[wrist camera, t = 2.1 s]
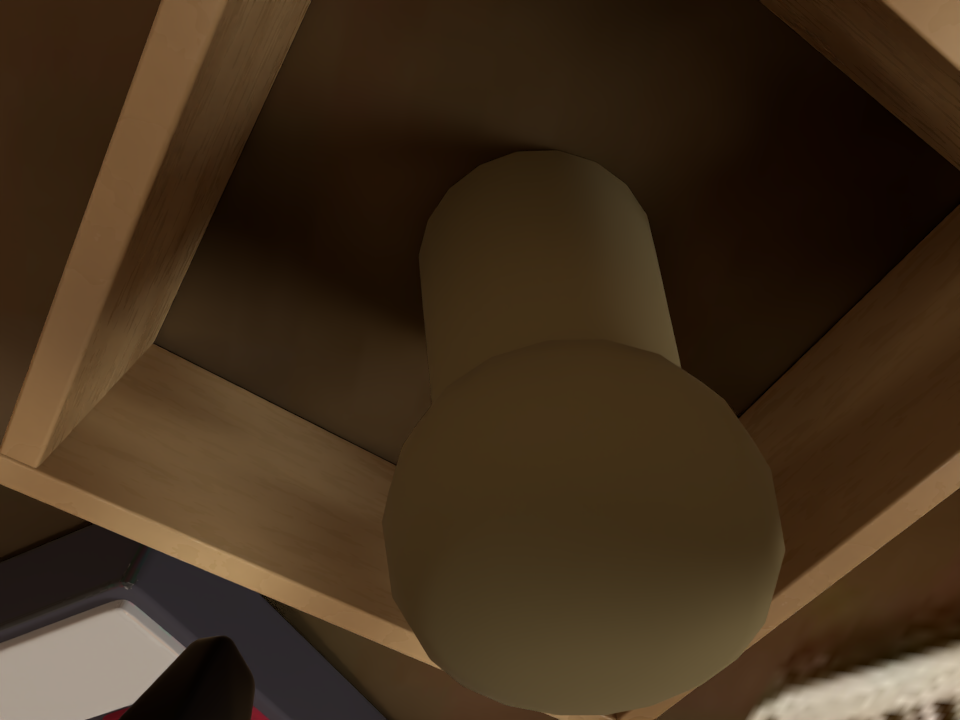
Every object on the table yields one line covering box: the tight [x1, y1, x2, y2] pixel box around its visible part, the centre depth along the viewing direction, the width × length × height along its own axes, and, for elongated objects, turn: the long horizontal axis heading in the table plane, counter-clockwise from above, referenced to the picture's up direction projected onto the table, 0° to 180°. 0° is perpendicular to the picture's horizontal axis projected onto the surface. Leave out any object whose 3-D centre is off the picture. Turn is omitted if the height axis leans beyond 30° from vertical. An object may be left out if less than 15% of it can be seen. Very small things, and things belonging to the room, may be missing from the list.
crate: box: [0, 0, 960, 720], centre depth 15 cm, size 17×17×6 cm
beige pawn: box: [382, 150, 785, 715], centre depth 12 cm, size 6×6×11 cm
